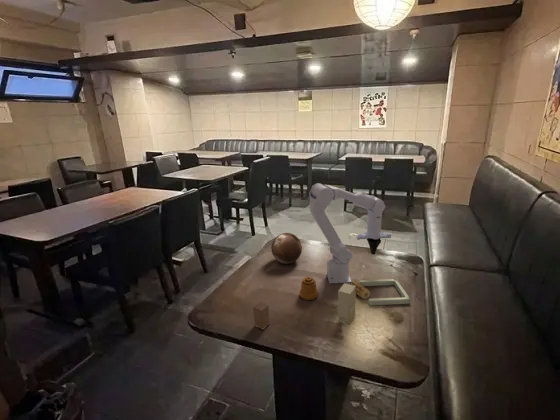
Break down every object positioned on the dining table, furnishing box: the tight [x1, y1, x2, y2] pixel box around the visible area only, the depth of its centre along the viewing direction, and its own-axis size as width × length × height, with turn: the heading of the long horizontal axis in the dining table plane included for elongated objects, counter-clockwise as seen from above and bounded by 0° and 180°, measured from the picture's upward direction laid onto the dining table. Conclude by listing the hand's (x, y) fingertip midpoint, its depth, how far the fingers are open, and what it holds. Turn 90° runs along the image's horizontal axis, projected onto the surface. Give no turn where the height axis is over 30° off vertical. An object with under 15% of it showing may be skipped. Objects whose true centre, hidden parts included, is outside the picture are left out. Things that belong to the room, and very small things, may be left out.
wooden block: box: [252, 301, 271, 328], centre depth 105 cm, size 4×4×8 cm
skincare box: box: [337, 283, 357, 325], centre depth 106 cm, size 6×4×12 cm
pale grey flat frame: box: [359, 278, 411, 306], centre depth 121 cm, size 15×14×2 cm
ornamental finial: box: [299, 276, 319, 301], centre depth 121 cm, size 8×8×8 cm
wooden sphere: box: [271, 232, 303, 265], centre depth 149 cm, size 15×15×15 cm
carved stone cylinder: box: [350, 280, 371, 300], centre depth 121 cm, size 8×4×4 cm, turn 21°
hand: (372, 253), depth 134 cm, fingers closed
